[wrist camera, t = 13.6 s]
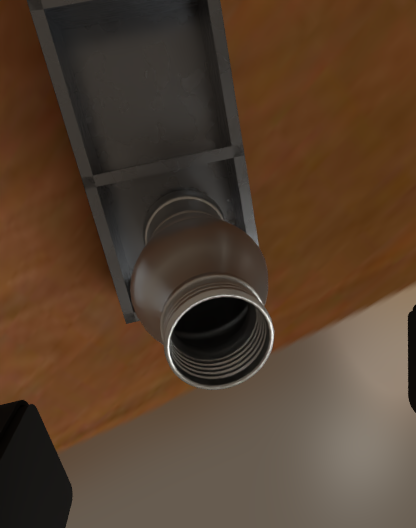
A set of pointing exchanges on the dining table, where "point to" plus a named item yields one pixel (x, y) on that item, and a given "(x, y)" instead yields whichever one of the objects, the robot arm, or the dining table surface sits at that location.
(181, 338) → the grey stacked bottle
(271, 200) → the dining table surface
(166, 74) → the divided tray
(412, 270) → the dining table surface
